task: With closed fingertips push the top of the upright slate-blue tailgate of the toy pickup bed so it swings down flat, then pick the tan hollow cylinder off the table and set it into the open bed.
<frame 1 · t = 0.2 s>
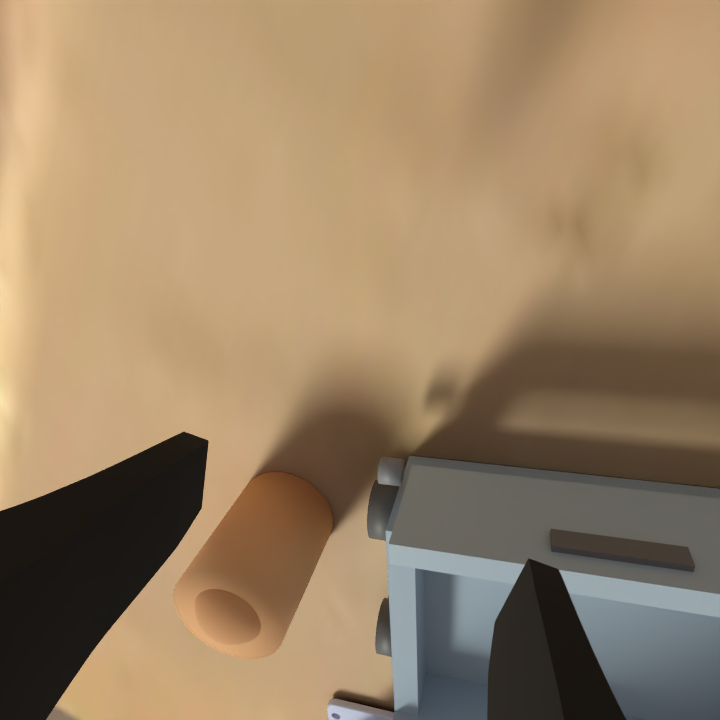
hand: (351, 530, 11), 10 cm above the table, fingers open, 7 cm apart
tailgate: (611, 535, 16), point 5 cm above the table, hinge at 0.0°
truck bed: (574, 580, 23), on the table
tan hollow cylinder: (287, 511, 26), on the table
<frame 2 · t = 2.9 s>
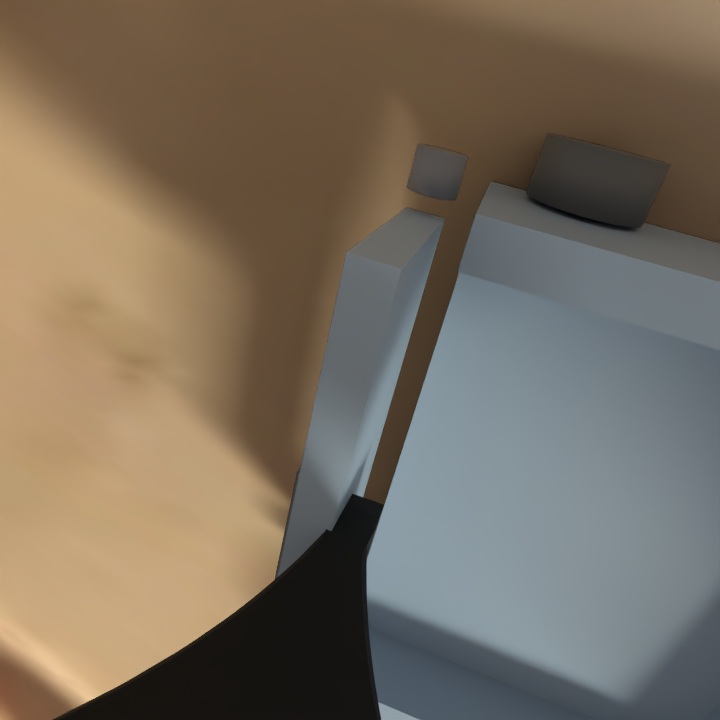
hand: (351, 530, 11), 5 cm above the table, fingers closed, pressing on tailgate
tailgate: (328, 506, 12), point 4 cm above the table, hinge at 1.3°, touching gripper
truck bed: (599, 485, 15), on the table
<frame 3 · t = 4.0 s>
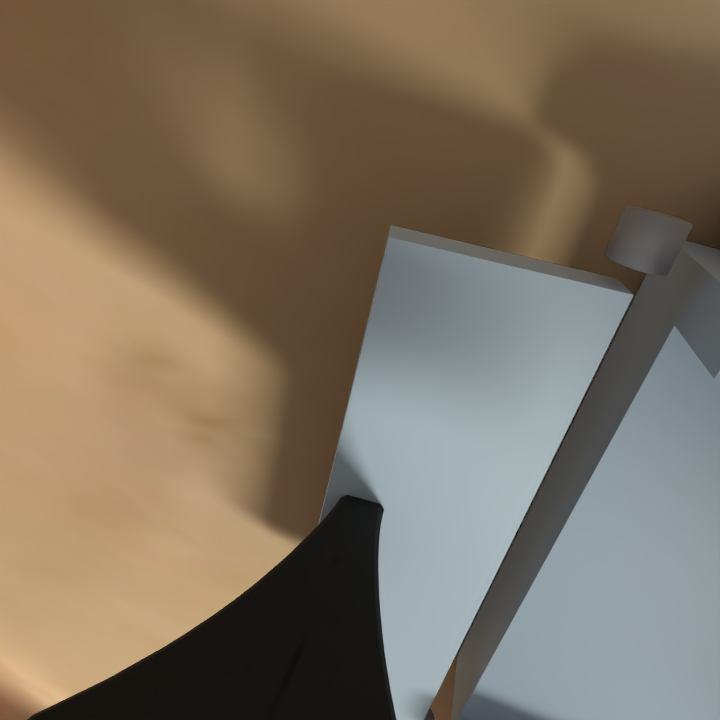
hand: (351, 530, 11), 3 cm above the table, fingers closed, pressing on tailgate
tailgate: (409, 528, 12), point 3 cm above the table, hinge at 79.9°, touching gripper
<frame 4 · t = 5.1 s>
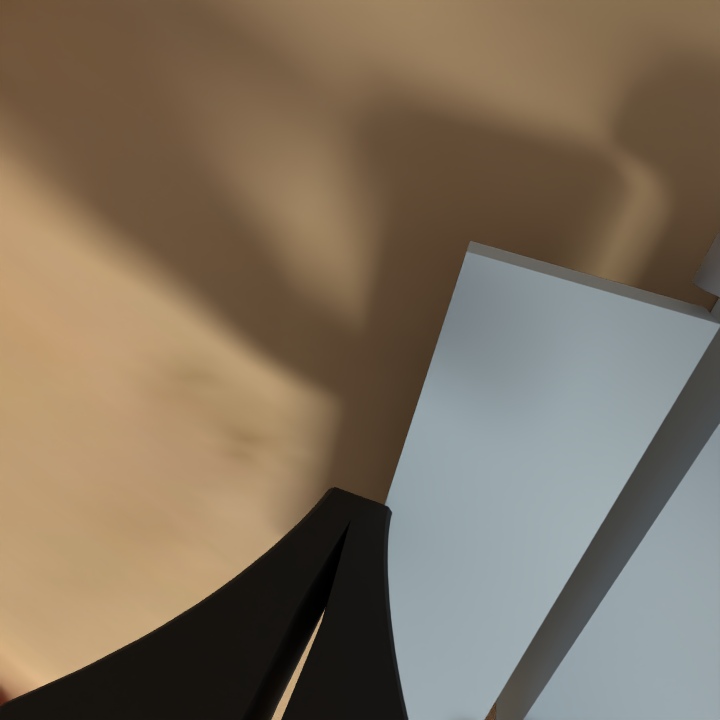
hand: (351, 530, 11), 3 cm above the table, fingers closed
tailgate: (466, 545, 12), point 2 cm above the table, hinge at 89.1°
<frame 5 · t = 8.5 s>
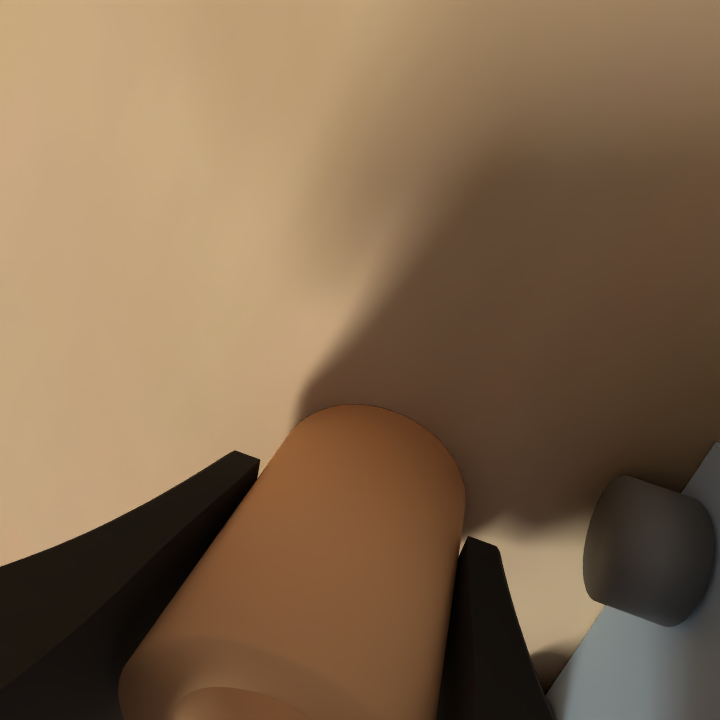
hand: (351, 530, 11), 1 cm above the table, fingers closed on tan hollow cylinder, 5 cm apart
tan hollow cylinder: (368, 489, 13), on the table, touching gripper
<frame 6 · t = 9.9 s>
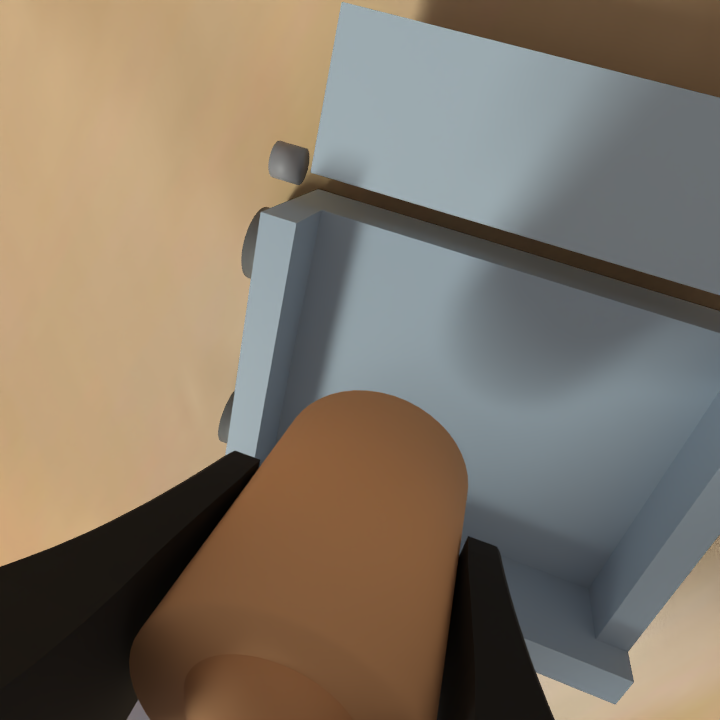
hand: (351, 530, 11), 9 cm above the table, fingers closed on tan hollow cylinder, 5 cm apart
tailgate: (570, 160, 13), point 2 cm above the table, hinge at 89.9°
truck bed: (467, 395, 19), on the table
tan hollow cylinder: (371, 474, 13), point 7 cm above the table, touching gripper
when the fingers open (5 cm above the table, at t = 11.3 s): tan hollow cylinder stays where it is, resting on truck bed.
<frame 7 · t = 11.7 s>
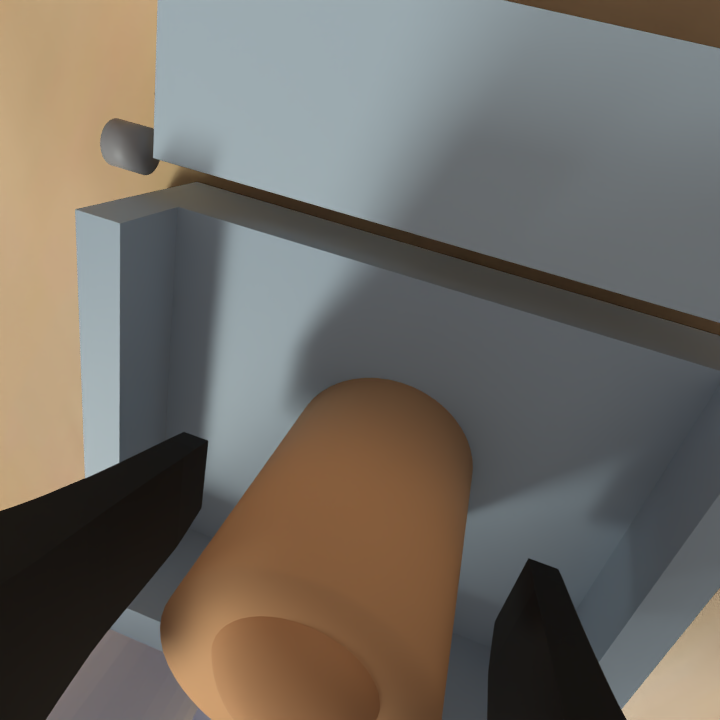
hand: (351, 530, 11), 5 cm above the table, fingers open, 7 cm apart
tailgate: (478, 133, 10), point 2 cm above the table, hinge at 89.9°
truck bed: (393, 429, 16), on the table
tan hollow cylinder: (380, 459, 13), point 3 cm above the table, touching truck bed
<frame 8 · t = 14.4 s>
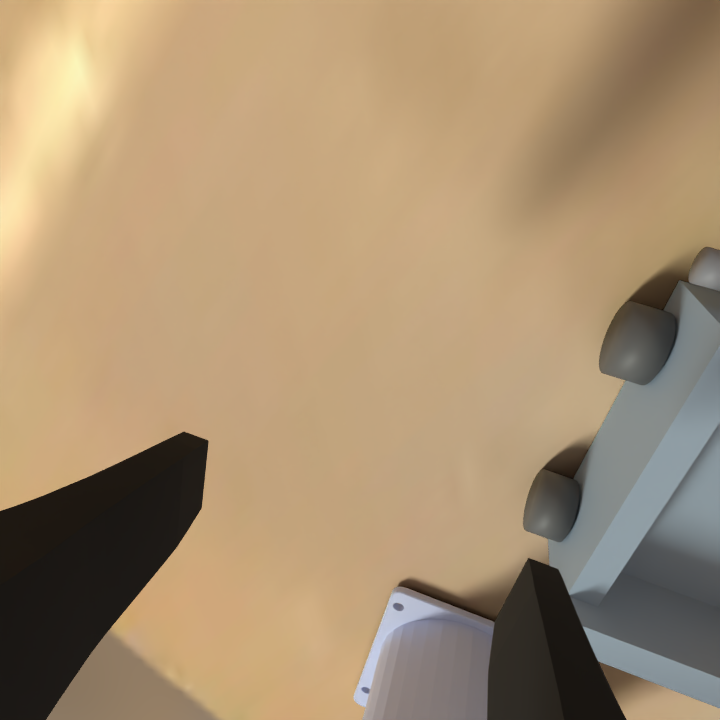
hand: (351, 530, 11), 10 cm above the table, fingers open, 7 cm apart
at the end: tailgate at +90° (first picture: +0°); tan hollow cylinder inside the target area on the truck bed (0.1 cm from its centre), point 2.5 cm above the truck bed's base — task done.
